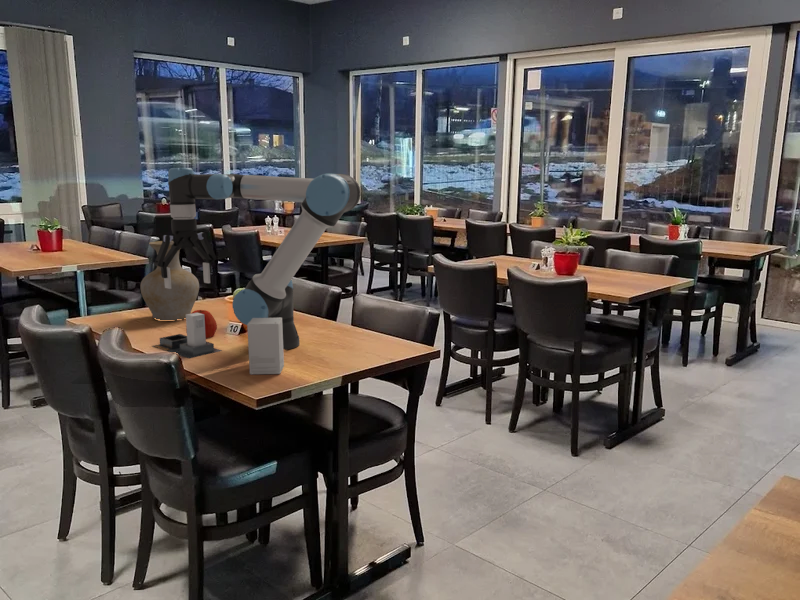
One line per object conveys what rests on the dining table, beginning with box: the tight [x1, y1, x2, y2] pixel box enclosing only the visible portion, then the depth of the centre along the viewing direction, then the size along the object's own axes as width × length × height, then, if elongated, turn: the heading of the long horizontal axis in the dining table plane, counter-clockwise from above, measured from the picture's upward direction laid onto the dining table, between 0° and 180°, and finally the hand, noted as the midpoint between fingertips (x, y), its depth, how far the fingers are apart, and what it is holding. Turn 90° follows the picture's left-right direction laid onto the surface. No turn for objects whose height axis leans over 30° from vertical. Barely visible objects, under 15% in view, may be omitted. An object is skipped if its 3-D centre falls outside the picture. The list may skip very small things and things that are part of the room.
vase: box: [140, 240, 200, 320], centre depth 261 cm, size 22×22×30 cm
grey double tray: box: [151, 333, 223, 359], centre depth 213 cm, size 22×12×4 cm, turn 49°
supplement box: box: [246, 318, 285, 375], centre depth 193 cm, size 9×9×15 cm
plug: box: [185, 312, 207, 347], centre depth 208 cm, size 5×4×12 cm
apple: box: [185, 309, 218, 339], centre depth 229 cm, size 10×10×10 cm
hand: (188, 285), depth 211 cm, fingers open, 13 cm apart
